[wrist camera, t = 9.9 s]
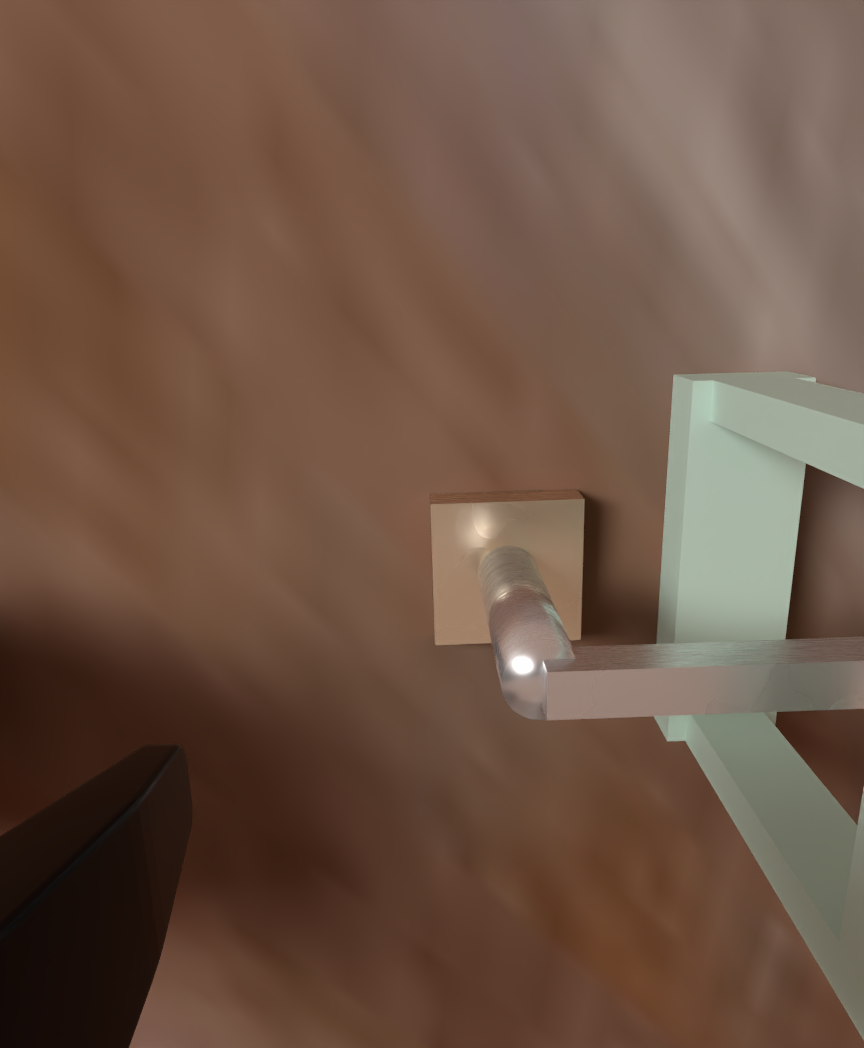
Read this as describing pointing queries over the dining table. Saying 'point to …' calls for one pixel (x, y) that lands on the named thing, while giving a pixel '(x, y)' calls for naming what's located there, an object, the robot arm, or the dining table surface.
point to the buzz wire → (600, 671)
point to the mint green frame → (762, 630)
